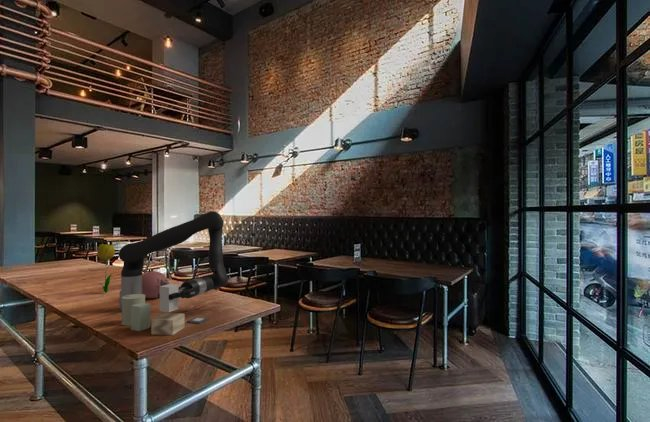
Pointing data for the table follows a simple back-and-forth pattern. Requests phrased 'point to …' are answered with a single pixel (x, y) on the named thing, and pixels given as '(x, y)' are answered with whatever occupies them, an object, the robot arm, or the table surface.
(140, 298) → the can
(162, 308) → the grey block
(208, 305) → the table surface
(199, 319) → the card
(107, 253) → the flower
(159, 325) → the base block
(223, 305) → the table surface
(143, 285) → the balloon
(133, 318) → the sage block
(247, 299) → the table surface
